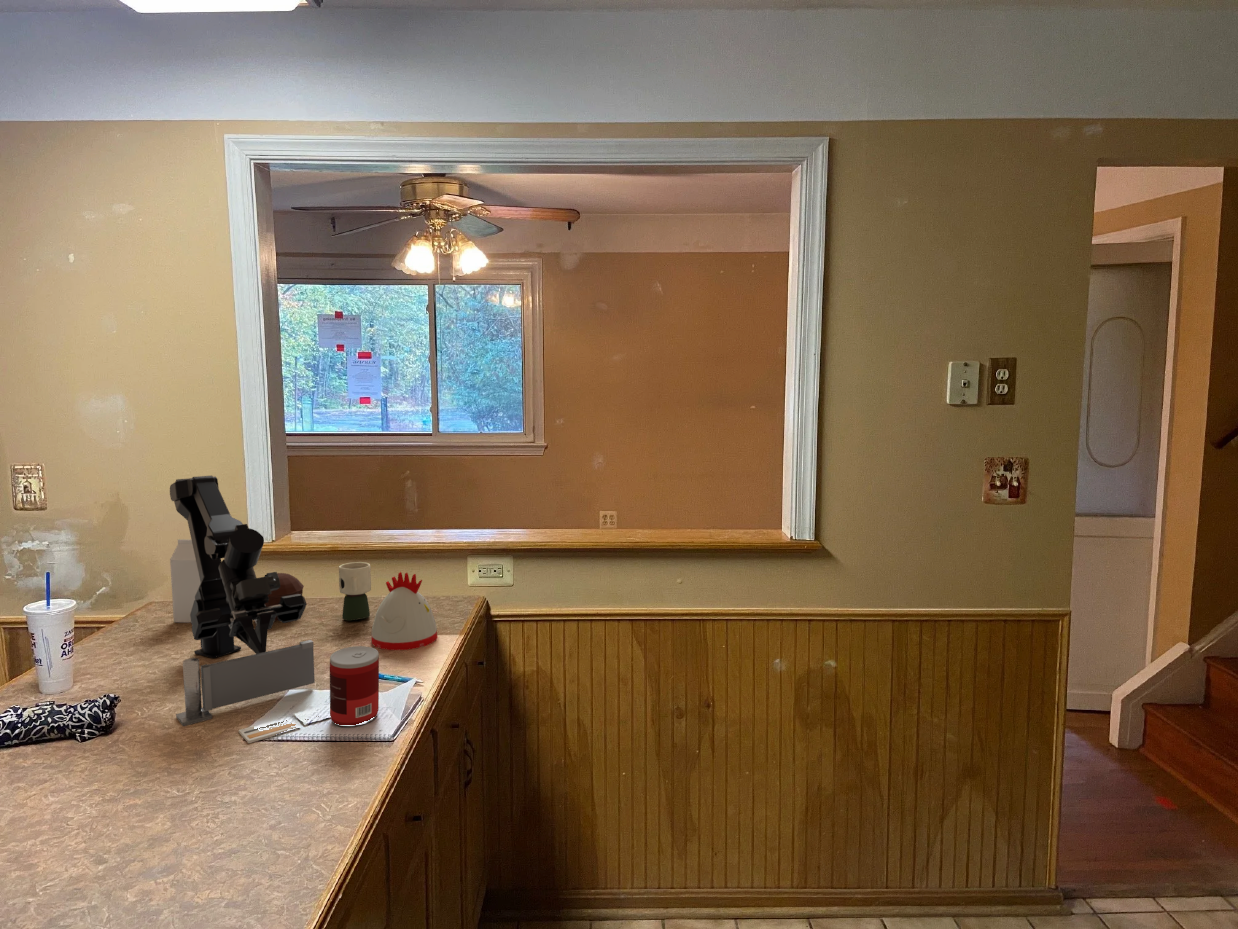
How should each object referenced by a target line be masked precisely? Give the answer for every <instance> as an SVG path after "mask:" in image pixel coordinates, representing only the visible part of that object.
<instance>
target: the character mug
mask: <svg viewBox="0 0 1238 929" xmlns="http://www.w3.org/2000/svg"><path fill="white" fill-rule="evenodd" d="M371 569H372V567H371V564H370V563H368V562H362V561H356V562H355V561H353V562H347V563H343V564H341V565H339V566H338V587H339V588H338V589H339V593H341V594H344V595H345V596H344V597H343V604H342V617H341V618H342V620H344V621H355V622H357V621H358V620H363V619H366V618H370V616H371V615H370V614H371V612H370V605H369V604H370V603H369V599H368V595H367V593H369V592H370V591H371V590H372V574H371V573H372V570H371Z"/></svg>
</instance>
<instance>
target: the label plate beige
mask: <svg viewBox="0 0 1238 929" xmlns="http://www.w3.org/2000/svg"><path fill="white" fill-rule="evenodd" d="M286 721H287V720H286ZM283 722H284V721H283ZM283 722H281V723H283ZM279 723H280V722H278V726H279ZM273 725H275V726H276V725H277V723H274V724H270V725H267V726H266V727H267V728H269V726H273ZM281 725H282V724H280V726H279V727H270V728H269V730H263V731H259V730H258V728H257V729H254V726H255V725H253V726H252V725H251V726H248V727H245V728H240V729H238V734H240V735H241V737H242V739H244V740H245V741H246V742H247V744H251V743H254V742H258V741H262V740H265V739H269V738H271V737H275V735H276V734H279V733H281V732H284V731H287V730H288V729H293V728H296V727H291V726H295V725H296V724H292V723H291V724H286V725H284V724H283V726H281ZM266 727H260V728H266ZM260 728H259V729H260ZM271 728H272V729H271ZM279 735H280V734H279ZM276 736H277V735H276Z"/></svg>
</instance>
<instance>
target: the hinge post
mask: <svg viewBox="0 0 1238 929" xmlns="http://www.w3.org/2000/svg"><path fill="white" fill-rule="evenodd" d="M182 670H183V671H182V674H183V675H182V676H183V687H184V688H183V690H184V704H185V705H184V706H185V711H182V712H179V713H176V714H175V718H176V719H177V721H179V723H180V725H181V726H182V727H185V726H188V725H193V724H196V723H200V722H204V721H208V720H212V719H213V714H212V713H211V712H210V710H209V711H205V710H204V709H203V701H202V683H201V665H200V658H197V657H192V658H187V659H184V660H183V661H182Z"/></svg>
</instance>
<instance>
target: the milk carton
mask: <svg viewBox="0 0 1238 929" xmlns="http://www.w3.org/2000/svg"><path fill="white" fill-rule="evenodd" d="M169 566H170V578H171V579H170V581H171V582H170V583H171V597H172V598H171V599H172V613H173V614H172V615H173V616H172V617H173V623H191V617H190V614H191V610H192V607H193V603H194V600H195V595H196V592H197V590H198V588H199V586H200V583H201V582H200V577H199V572H198V568H197V563H196V558H195V554H194V549H193V544H192V540H191V539H184V538H183V539H177V544H176V547H175V549H174V551H173V553H172V554H171V556H170V559H169Z"/></svg>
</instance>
